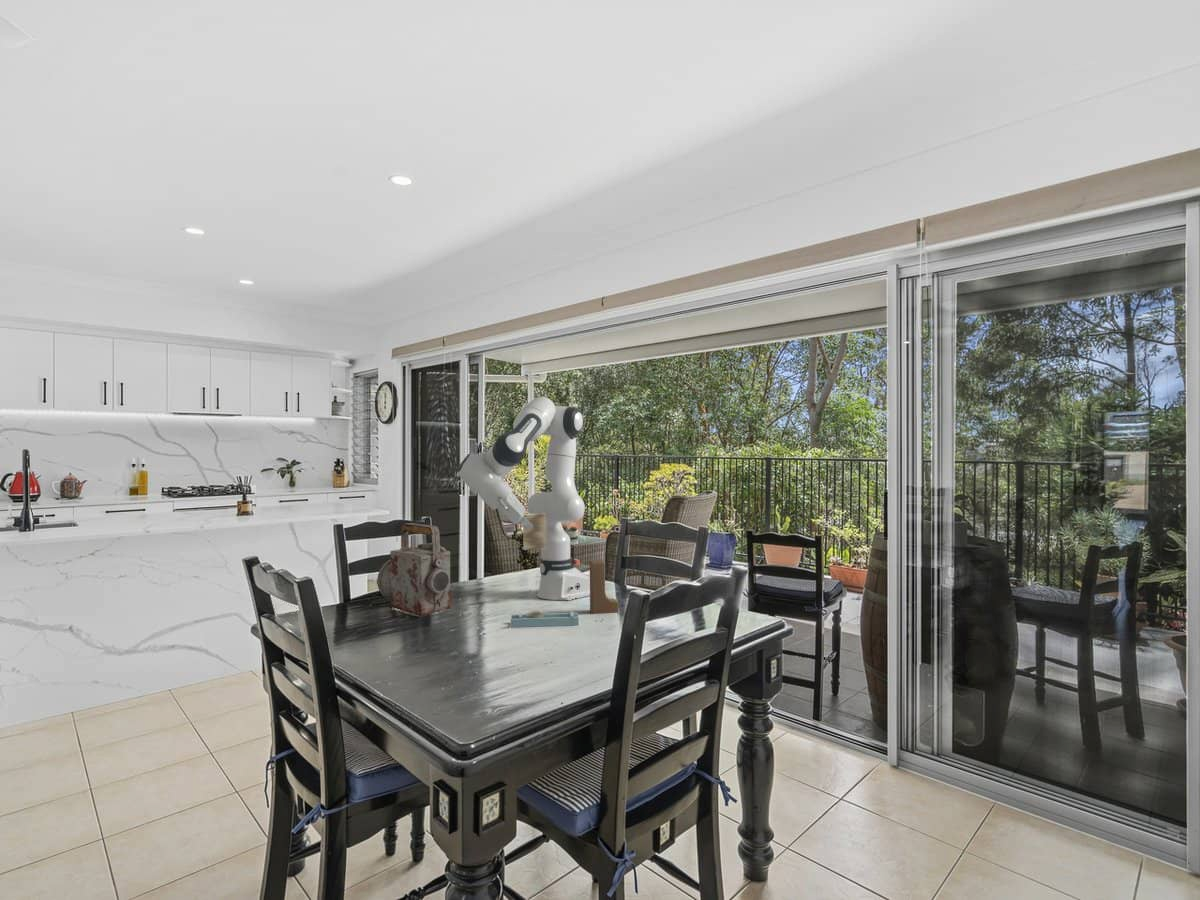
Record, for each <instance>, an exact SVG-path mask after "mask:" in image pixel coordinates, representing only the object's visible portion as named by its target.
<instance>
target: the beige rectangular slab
mask: <svg viewBox="0 0 1200 900" xmlns="http://www.w3.org/2000/svg"><path fill="white" fill-rule="evenodd" d="M524 517H525V518H526V519H527V520H528V521H529V522H530V523H531V524H532V525H533V527H532V528H531V530H529V529H527V528H526V527H525V526H524V525H522V536H523V537H522V540H523V541H522V543H523V551H532V550H533V551H535V550H536V551H539V550H540V551H541V550H546V513H541V514H529V513H524Z"/></svg>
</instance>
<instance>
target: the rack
mask: <svg viewBox="0 0 1200 900" xmlns="http://www.w3.org/2000/svg"><path fill="white" fill-rule="evenodd" d="M578 613H579V612H574V611H569V612H562V613H561V612H560V613H558V612H556V613H551V612H550V613H543V618H524V617H526V613H524V614H523V613H519V614H511V618H510V622H509V627H508V630H533V629H534V630H535V629H537V630H538V629H562V628H563V629H567V628H574V629H575V628H581V621H580V618H579V614H578Z"/></svg>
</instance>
